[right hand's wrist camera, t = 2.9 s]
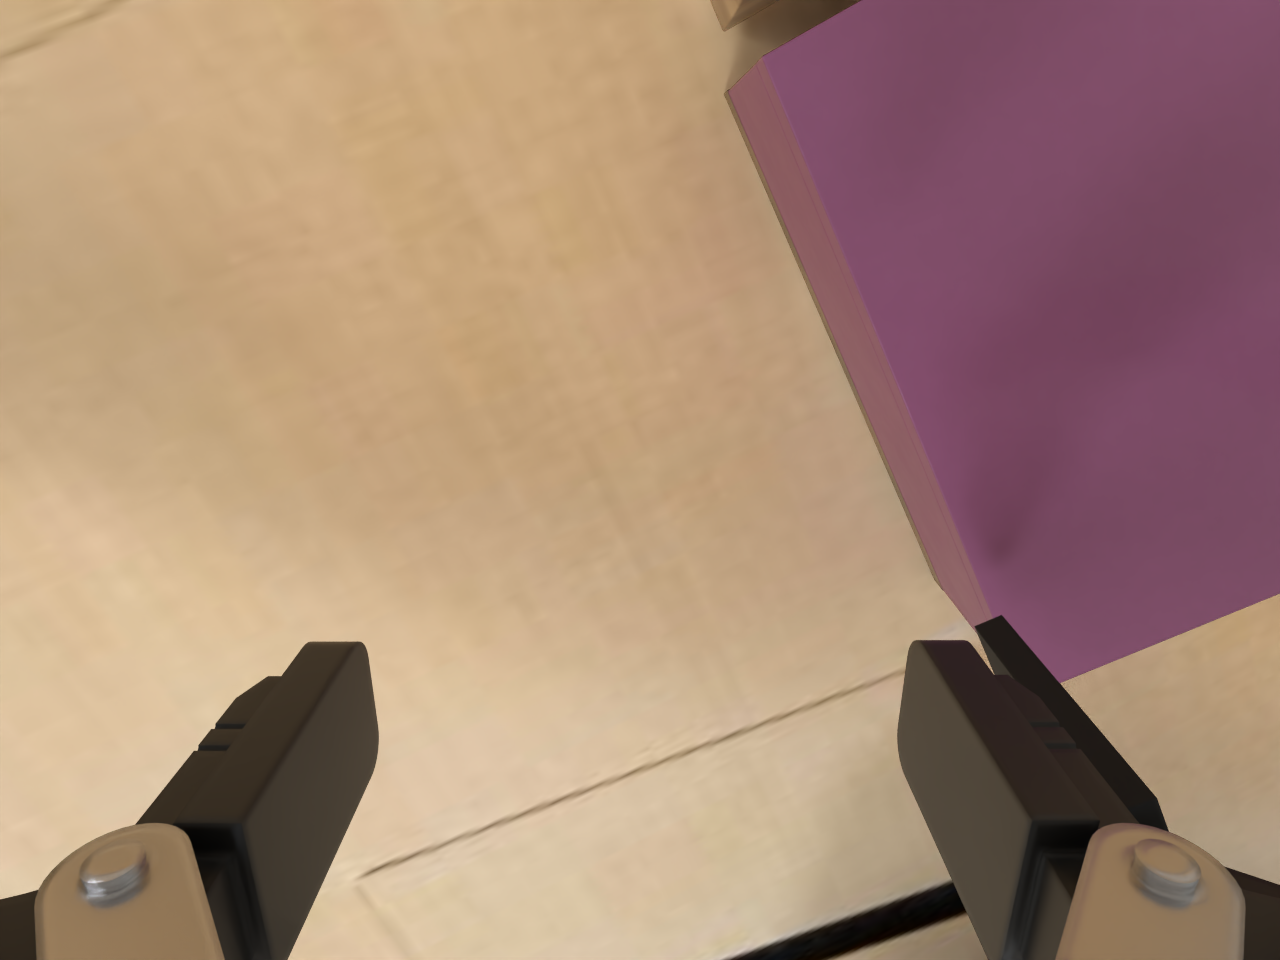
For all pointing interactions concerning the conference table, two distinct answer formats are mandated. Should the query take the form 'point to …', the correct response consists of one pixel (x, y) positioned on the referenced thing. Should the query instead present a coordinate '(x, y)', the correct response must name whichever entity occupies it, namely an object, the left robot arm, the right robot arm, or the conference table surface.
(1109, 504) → the cabinet
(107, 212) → the conference table surface
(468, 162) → the conference table surface
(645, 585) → the conference table surface
